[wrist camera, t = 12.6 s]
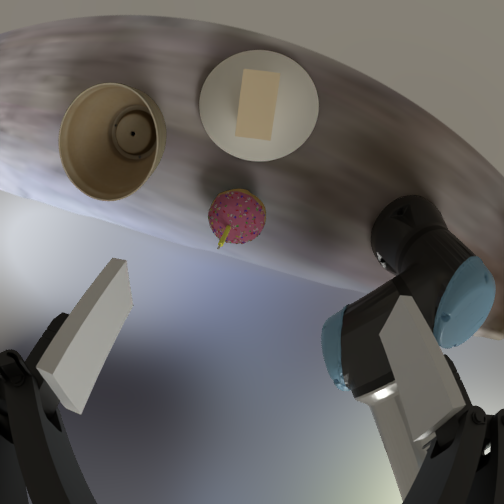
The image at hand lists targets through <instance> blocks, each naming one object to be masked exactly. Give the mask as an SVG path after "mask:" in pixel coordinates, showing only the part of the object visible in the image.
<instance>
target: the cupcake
mask: <svg viewBox="0 0 504 504" xmlns="http://www.w3.org/2000/svg"><path fill="white" fill-rule="evenodd" d="M208 219H209V224H210V225H209V226H210V228H211V229H212V230H213V233H214V234H215V235H216V237H218V238H219V240H220V241H219V243H218V245H219V246H218V248H217V249H219V248H220V247H222V246H223V244H224V242H226V243H228V242H229V243H237V244H238V243H241V244H243V243H245V242H248V241H252V240H253V239H255V238H256V237H257V236H258V235H260V232H261V231H262V229H263V227H264V225H265V220H266V210H265V206H264V204H263V203H262V201H261V200H260V199H259V198H257V197H256V196H255V195H253V194H251V193H250V192H249V191H248V190H245V189H232V190H228V191H225V192H222V193H219V194H218V195H217V197H216V198H215V200H214V201H213V203H212V205H211V207H210V209H209V213H208Z"/></svg>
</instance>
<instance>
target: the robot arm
mask: <svg viewBox="0 0 504 504" xmlns="http://www.w3.org/2000/svg"><path fill="white" fill-rule="evenodd" d="M371 244H372V249H373V252H374V255H375V256H376V258H377V260H378V261H379V263H380V264H381V265H382V266H383V267H384V268H385V269H386V270H387V271H389V272H391V273H392V274H394V275H396V277H394V278H393V279H391V280H389V281H388V282H386V283H385V284H383V285H382V286H380V287H378V288H377V289H375V290H374V291H372V292H370V293H369V294H367V295H366V296H364V297H362V298H360V299H359V300H357V301H355V302H354V303H352V304H350V305H349V304H348V305H346V306H345V307H344V308H343V309H342V310H340V311H339V312H337V313H336V314H335V315H333V316H331V317H330V318H328V319H327V320H326V322H325V323H324V325H323V328H322V335H321V344H322V352H323V357H324V361H325V364H326V367H327V370H328V373H329V375H330V377H331V379H333V380H334V384H335V385H336V386H337V388H338V389H340V390H342V391H350V390H351V391H352V393H353V395H354V398H355V400H357V401H360V402H363V403H365V404H367V405H368V406H369V407H370V409H371V412H372V415H373V417H374V419H375V422H376V425H377V428H378V430H379V433H380V436H381V438H382V441H383V444H384V447H385V450H386V452H387V455H388V458H389V461H390V464H391V467H392V470H393V472H394V475H395V478H396V481H397V484H398V488H399V491H400V494H401V497H402V500H403V503H402V504H504V409H501V410H500V411H499V412H498V413H497V414H495V415H486V414H485V412H484V411H483V409H482V408H480V407H478V406H473V405H472V404H471V401H470V399H469V397H468V394H467V392H466V389H465V387H464V385H463V383H462V381H461V380H460V376H459V374H458V373H457V370H456V368H455V366H454V364H453V362H452V361H451V360H450V358H449V357H448V356H447V355H443V353H442V351H441V349H440V347H439V346H441V347H443V348H447V349H448V348H452V347H453V346H454V347H455V346H458V345H460V344H462V343H464V342H465V341H466V340H467V339H469V338H470V337H471V336H472V335H473V334H474V333H475V332H476V331H477V330H478V329H479V328H480V326H481V325H482V324H483V322H484V321H485V319H486V318H487V316H488V314H489V312H490V310H491V308H492V305H493V302H494V298H495V281H494V278H493V276H492V274H491V273H490V271H489V270H488V269H487V268H486V266H485V265H484V264H483V262H482V260H481V259H480V258H479V257H478V256H476V255H475V254H474V253H473V252H472V251H471V250H470V249H469V248H468V247H466V246H465V245H464V244H463V243H462V242H461V241H460V240H459V239H458V238H457V237H456V236H455V235H453V234H452V233H451V232H450V231H449V230H448V228H447V226H446V224H445V222H444V220H443V218H442V215H441V213H440V211H439V210H438V209H437V208H436V207H435V206H434V205H433V204H432V203H431V202H429V201H428V200H427V199H425V198H423V197H420V196H405V197H402V198H399V199H397V200H395V201H393V202H392V203H390V204H389V205H388V206H387V207H386V208H385V209H384V210H383V211H382V212H381V214H380V215H379V217H378V218H377V220H376V222H375V224H374V227H373V231H372V236H371ZM132 307H133V301H132V295H131V288H130V282H129V275H128V269H127V261H126V260H121V259H116V258H112V259H111V260H110V262H109V263H108V264H107V265H106V267H105V268H104V269H103V270H102V272H101V273H100V274H99V276H98V277H97V278H96V279H95V281H94V282H93V283H92V285H91V286H90V287H89V289H88V290H87V291H86V292H85V294H84V295H83V296H82V298H81V299H80V301H79V302H78V303H77V305H76V306H75V307H74V309H73V310H72V312H71V313H70V315H69V314H66V313H61V314H60V315H58V316H57V317H56V318H54V319H53V321H52V322H51V323H50V325H49V326H48V328H47V330H45V332H44V333H43V335H42V337H41V338H40V339H39V341H38V342H37V344H36V345H35V347H34V348H33V350H32V351H31V353H30V355H29V356H28V358H27V359H26V361H25V362H24V360H23V359H22V357H21V355H20V354H19V353H18V352H17V351H15V350H6V351H4V352H1V353H0V504H29V503H28V497H27V492H26V487H27V491H28V493H29V496H30V499H31V501H32V503H33V504H97V503H96V501H95V499H94V497H93V495H92V493H91V491H90V489H89V487H88V485H87V483H86V481H85V479H84V477H83V474H82V472H81V470H80V467H79V465H78V463H77V460H76V458H75V455H74V453H73V450H72V447H71V445H70V442H69V439H68V436H67V433H66V431H65V427H64V424H63V421H62V418H61V414H60V411H59V409H58V407H57V406H58V404H59V402H61V403H62V404H63V405H64V407H65V408H67V409H69V410H72V411H74V412H76V413H78V414H82V411H83V409H84V407H85V404H86V402H87V400H88V397H89V395H90V393H91V390H92V388H93V386H94V384H95V381H96V379H97V377H98V375H99V373H100V371H101V368H102V366H103V364H104V362H105V360H106V358H107V356H108V354H109V352H110V350H111V348H112V346H113V344H114V342H115V340H116V338H117V336H118V334H119V332H120V330H121V328H122V326H123V324H124V322H125V320H126V318H127V316H128V314H129V313H130V311H131V309H132ZM490 446H491V451H490V452H489V453H488V454H486V455H485V454H484V450H486V449H487V448H489V447H490Z"/></svg>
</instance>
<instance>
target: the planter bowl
mask: <svg viewBox="0 0 504 504" xmlns="http://www.w3.org/2000/svg"><path fill="white" fill-rule="evenodd" d="M131 132H135V135H134V136H132V135H131ZM165 144H166V125H165V121H164V118H163V115H162V113H161V111H160V109H159V107H158V106H157V104H156V103H155V102H154V101H153V100H152V99H151V98H150V97H149V96H148V95H146V94H145V93H143V92H142V91H140V90H138V89H135V88H133V87H129V86H127V85H124V84H120V83H102V84H98V85H94V86H92V87H90V88H88V89H86V90H85V91H83V92H82V93H81V94H79V95H78V96H77V97H76V98H75V99H74V101H73V102H72V103H71V104H70V106H69V108H68V109H67V111H66V113H65V115H64V117H63V120H62V123H61V127H60V131H59V153H60V158H61V162H62V165H63V168H64V170H65V172H66V174H67V176H68V178H69V179H70V181H71V182H72V183H73V184H74V185H75V186H76V187H77V188H78V189H79V190H80V191H81V192H83V193H84V194H86V195H87V196H89V197H91V198H94V199H97V200H102V201H115V200H120V199H123V198H126V197H128V196H130V195H131V194H133V193H134V192H136V191H137V190H138V189H139V188H140V187H141V186H142V185H143V184H144V183H145V182H146V181H147V179H148V178H149V177H150V176H151V174H152V173H153V172H154V170H155V169H156V167H157V166H158V164H159V162H160V160H161V158H162V155H163V152H164V149H165Z"/></svg>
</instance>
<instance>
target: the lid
mask: <svg viewBox="0 0 504 504" xmlns="http://www.w3.org/2000/svg"><path fill="white" fill-rule="evenodd" d="M199 111H200V117H201V121H202V124H203V126H204V129H205V130H206V132H207V134H208V135H209V137H210V138H211V139H212V141H213V142H214V143H215V144H216V145H217V146H218V147H220V148H221V149H222V150H224V151H225V152H227V153H229V154H230V155H233V156H235V157H237V158H240V159H244V160H249V161H270V160H275V159H278V158H282V157H284V156H286V155H288V154H290V153H292V152H293V151H295V150H296V149H298V148H299V147H300V146H301V145H302V144H303V143H304V142H305V141H306V140H307V139H308V137H309V136H310V134H311V133H312V131H313V129H314V127H315V124H316V122H317V118H318V111H319V100H318V94H317V91H316V88H315V85H314V83H313V81H312V79H311V78H310V76H309V75H308V73H307V72H306V71H305V70H304V69H303V68H302V67H301V66H300V65H299V64H298V63H297V62H295V61H294V60H292V59H290V58H289V57H287V56H285V55H282V54H279V53H276V52H272V51H267V50H250V51H245V52H241V53H238V54H235V55H233V56H231V57H229V58H227V59H225V60H224V61H222V62H221V63H220V64H218V65H217V66H216V67H215V68H214V69H213V70H212V72H211V73H210V74H209V76H208V77H207V79H206V80H205V82H204V84H203V87H202V90H201V93H200V99H199Z"/></svg>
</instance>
